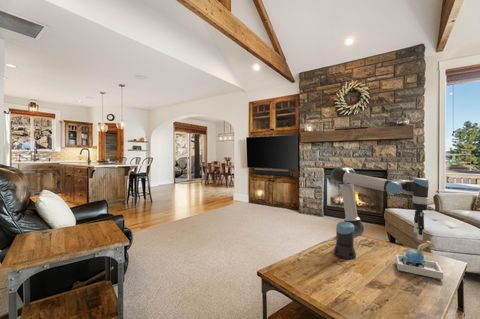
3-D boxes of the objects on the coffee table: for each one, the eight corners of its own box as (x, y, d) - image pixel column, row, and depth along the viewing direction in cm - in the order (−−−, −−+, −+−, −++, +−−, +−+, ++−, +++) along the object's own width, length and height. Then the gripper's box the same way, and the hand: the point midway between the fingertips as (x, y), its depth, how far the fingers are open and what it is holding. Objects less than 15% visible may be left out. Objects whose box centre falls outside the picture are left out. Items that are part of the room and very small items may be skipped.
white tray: (397, 272, 149) (398, 263, 149) (395, 262, 162) (396, 254, 162) (442, 281, 138) (443, 272, 138) (436, 270, 151) (437, 262, 151)
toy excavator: (436, 272, 145) (437, 244, 144) (406, 269, 148) (406, 242, 147) (428, 265, 153) (429, 239, 152) (399, 262, 156) (400, 237, 156)
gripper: (431, 208, 136) (429, 244, 137) (423, 199, 158) (421, 231, 159) (415, 206, 140) (413, 241, 141) (410, 198, 161) (408, 228, 162)
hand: (418, 235), depth 150 cm, fingers open, 13 cm apart
